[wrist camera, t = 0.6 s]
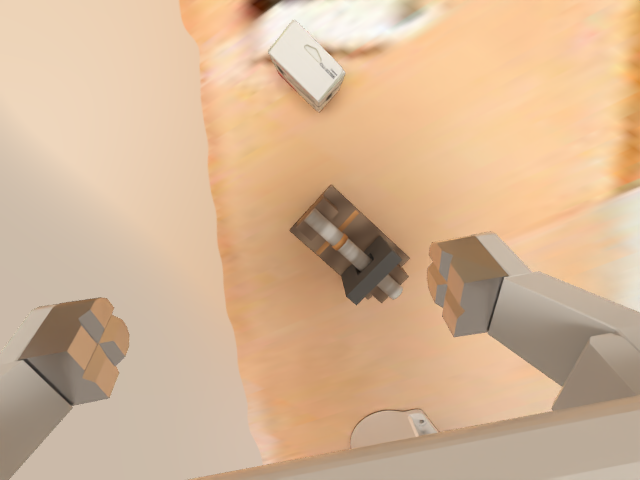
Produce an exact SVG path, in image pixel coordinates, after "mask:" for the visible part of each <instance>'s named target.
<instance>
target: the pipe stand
mask: <svg viewBox="0 0 640 480" xmlns="http://www.w3.org/2000/svg"><path fill="white" fill-rule="evenodd" d="M290 232H291V233H293V234H294V235H295V236H296V237H297V238H298V239H299V240H301V241H302V242H303V243H304V244H305V245H306V246H307V247H309V248H310V249H311V250H312V251H313V252H314V253H315V254H317V255H318V256H319V257H320V258H321V259H322V260H323V261H325V262H326V263H327V264H328V265H329V266H330V267H331V268H333V269H334V270H335V271H336V272H337V273H338V274H339V275H341V274H342V273H343V272H344V271H345V270H346V269H347V268H348V267H349V266H350V265H351V264H353V265H354V266H355V267H356V268H358V269H359V270H360V271H361V272H362V271H363V270H364V269H365V268H366V267H367V266H368V265H369V264H370V263H371V262H372V261H373V260H372V259H371V258H369V257H368V256H367V255H366V254H365V253H364V251H365V250H366V249H367V248H368V247H369V246H370V245H371V244H372V243H373V242H374V241H375V240H376V239H377V238H378V237H379V236H381V237H382V238H383V239H385V240H386V241H387V242H388V243H389V244H390V246H391V247H392V248H393V249H394V250H395V251H396V253H397V254H398V255H399V256H400V257H401V259H402V261H401V262H400V263H399V264H398V265H397V266H396V267H395V268H394V269H393V270H392V271H391V272H390V273H389V274H388V275H387V276H386V277H385V278H384V279H383V280H382V281H381V282H380V283H379V284H378V285H377V286H376V287H375V288H374V289H373V290H372V291H371V292H370V293H368V294H367V295H366V296H365V297H366V298H367V299H369V298H370V297H371V296H372V295H373V296H374V297H375V298H376V299H377V300H378V301H380V302H381V303H382V302H383V301H384V300H385V299H386V298H387V297H388V296H389V297H390V298H391V299H396V298H397V297H398V296H399V295H400V294H401V293H402V291H403V288H402V287H401V286H400V285H401V284H402V283H403V282H404V281H405V280H406V279H407V278H408V277H409V276H408V275H407V274H406V272H405V271H404V270H403V268H402V266H403V265H404V264H405V263H406V262H407V261H408V260H409V259H410V258H409V257H408V256H407V255H406V254H405V253H404V252H403V251H402V250H401V249H399V248H398V247H397V246H396V245H395V244H394V243H393V242H392V241H391V240H390V239H389V238H388V237H387V236H385V235H384V234H383V233H382V232H381V231H380V230H379V229H378V228H377V227H376V226H375V225H374V224H373V223H372V222H370V221H369V220H368V219H367V218H366V217H365V216H364V215H363V214H362V213H361V212H360V211H359V210H358V209H357V208H355V207H354V206H353V205H352V204H351V203H350V202H349V201H348V200H347V199H346V198H345V197H344V196H343V195H342V194H340V193H339V192H338V191H337V190H336V189H335V188H334V187H333V186H332V185H330V186H329V187H328V189H327V190H326V191H325V192H324V193H323V194H322V195H321V196H320V197H319V198H318V199H317V201H316V202H315V203H314V204H313V205H312V206H311V207H310V208H309V209H308V210H307V211H306V213H305V214H304V215H303V216H302V217H301V218H300V219H299V220H298V221H297V222H296V223H295V225H294V226H293V227H292V228H291V229H290Z"/></svg>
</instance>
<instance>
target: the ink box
mask: <svg viewBox="0 0 640 480" xmlns="http://www.w3.org/2000/svg"><path fill="white" fill-rule="evenodd" d="M268 54H269V55H270V58H271V60H272V61H273V63H274V65H275V67H276V69H277V71H278V74H279V75H280V76H281V77H282V78H284V79H285V81H287V82H288V83H289V84H290V85H291V86H292V87H293V88H294V89H295V90H296V91H297V92H298V93H299V94H300V95H301V96H302V97H303V98H304V99H305V100H306V101H307V102H308V103H309V104H310V105H311V106H312V107H313V108H314V109H315V110H316V111H317V112H320V111H321V110H322V109H323V107H324V106H325V105H326V104H327V103H328V102H329V101H330V100H331V98H332V97H333V96H334V95H335V94H336V93H337V92H338V91H339V89H340V86H341V84H342V81H343V78H344V76H345V71H344V70H343V69H342V67H341V66H340V65H339V64H338V63H337V62H336V61H335V60H334V58H333V57H332V56H331V55H330V54H329V53H327V52H326V51H325V50H324V49H323V47H322V46H321V45H320V44H319V43H318V42H317V41H316V40H315V39H314V38H313V37H312V36H311V35H310V34H309V33H308V32H307V31H306V30H305V29H304V28H303V27H302V26H301V25H300V24H299V23H298V22H297V21H296V20H292V21H291V23H290V24H289V25H288V27H287V28H286V29H285V30H284V31H283V33H282V34H281V35H280V37H279V38H278V39H277V40H276V42H275V43H274V44H273V45H272V46H271V48H270V49H269V50H268Z"/></svg>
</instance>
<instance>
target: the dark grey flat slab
mask: <svg viewBox="0 0 640 480" xmlns="http://www.w3.org/2000/svg"><path fill="white" fill-rule="evenodd" d="M364 253H365V254H366V255H367V256H368V257H369V258H371V259H372V260H373V261H372V262H371V263H370V264H369V265H368V266H367V267H366V268H365V269H364V270H363V271H362V272H361V271H360V270H359V269H358V268H356V267H355V266H354V265H353V264H351V265H350V266H349V267H348V268H347V269H346V270H345V271H344V272H343V273H342V274H341V276H342V280H343V285H344V289H345V293H346V297H347V298H349V299H350V300H351V301H352V302H353V303H354V304H356V305H357V304H358V303H359V302H360V301H361V300H362V299H363V298H364V297H365V296H366V295H367V294H368V293H370V292H371V291H372V290H373V289H374V288H375V287H376V286H377V285H378V284H379V283H380V282H381V281H382V280H383V279H384V278H385V277H386V276H387V275H388V274H389V273H390V272H391V271H392V270H393V269H394V268H395V267H396V266H397V265H398V264H399V263H400V262H401V261H402V259H401V257H400V256H399V255H398V254H397V253H396V251H395V250H394V249H393V248H392V247H391V246H390V244H389V243H388V242H387V241H386V240H385V239H383V238H382V237H381V236H379V237H378V238H377V239H376V240H375V241H374V242H373V243H372V244H371V245H370V246H369V247H368V248H367V249H366V250H365V251H364Z"/></svg>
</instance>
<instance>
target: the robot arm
mask: <svg viewBox="0 0 640 480" xmlns="http://www.w3.org/2000/svg"><path fill="white" fill-rule="evenodd" d="M429 256H430V258H431V259H432V261H433V262H432V264H431V265H430V266H429V267H428V269H427V281H428V288H429V291H430V294H431V296H432V298H433V300H434V302H435V303H436V304H438V305H439V306H441V307H443V314H442V317H443V319H444V320H445V322H446V324H447V326H448V328H449V330H450V331H451V333H452V335H453V337H458V336H465V335H472V334H478V333H485V332H488V334H489V335H490V336H492V337H493V338H494V339H496V340H497V341H499V342H500V343H501V344H503V345H504V346H506V347H507V348H508V349H510V350H511V351H513V352H514V353H516V354H517V355H518V356H520V357H521V358H523V359H524V360H525V361H527V362H528V363H530V364H531V365H532V366H534V367H535V368H537V369H538V370H539V371H541V372H542V373H544V374H545V375H546V376H548V377H549V378H551V379H552V380H553V381H555V382H556V383H558V384H559V385H560V386H562V388H561V390H560V392H559V394H558V395H557V397H556V399H555V401H554V403H553V406H552V408H551V409H552V410H553V411H551V412H545V413H540V414H535V415H529V416H524V417H519V418H513V419H508V420H503V421H497V422H492V423H487V424H481V425H476V426H471V427H465V428H460V429H455V430H449V431H444V432H439V431H438V430H437V429H436V428H435V426H434V425H433V424H432V422H431V421H430V420H429V419H428V417H427V416H426V415H425V414H424V412H423V411H422V410H420V409H414V410H409V411H405V412H401V411H381V412H377V413H374V414H371V415H369V416H368V417H366V418H364V419H363V420H362V421H361V422H360V423H359V424H358V425H357V426H356V428H355V429H354V431H353V433H352V436H351V442H350V445H351V449H348V450H342V451H337V452H332V453H326V454H321V455H316V456H310V457H305V458H300V459H294V460H289V461H284V462H278V463H273V464H268V465H262V466H257V467H252V468H246V469H241V470H236V471H231V472H225V473H220V474H215V475H209V476H204V477H199V478H194V479H188V480H640V312H637V311H635V310H632V309H630V308H627V307H625V306H622V305H620V304H617V303H615V302H613V301H610V300H608V299H605V298H603V297H600V296H598V295H595V294H593V293H591V292H588V291H586V290H583V289H581V288H578V287H576V286H573V285H571V284H569V283H566V282H564V281H561V280H559V279H556V278H554V277H551V276H549V275H547V274H544V273H542V272H532V271H531V270H530V269H529V268H528V267H527V266H526V265H525V264H524V263H523V262H522V261H521V260H520V259H519V257H518V256H517V255H516V254H515V253H514V252H513V251H512V250H511V249H510V248H509V247H508V246H507V245H506V244H505V243H504V242H503V241H502V240H501V239H500V238H499V237H498V235H497V234H495V233H493V232H491V231H490V232H485V233H479V234H474V235H471V236H465V237H460V238H454V239H448V240H442V241H436V242H432V243H431V246H430V250H429ZM113 310H114V307H113V306H112V304H111V303H110V302H109V300H108V299H107V298H101V297H100V298H93V299H86V300H79V301H72V302H66V303H60V304H53V305H47V306H40V307H37V308H36V309H34V310H32V311H31V312H30V313H29V314H28V316H27V317H26V319H25V320H24V321H23V323H22V324H21V325H20V327H19V328H18V329H17V331H16V332H15V333H14V335H13V336H12V337H11V339H10V340H9V342H8V343H7V345H6V346H5V347H4V348H3V350H2V351H1V352H0V480H9V479H10V478H11V477H12V476H13V475H14V473H15V472H16V471H17V470H18V469H19V468H20V467H21V466H22V464H23V463H24V462H25V461H26V460H27V459H28V458H29V456H30V455H31V454H32V453H33V452H34V451H35V450H36V449H37V448H38V446H39V445H40V444H41V443H42V442H43V441H44V439H45V438H46V437H47V436H48V435H49V434H50V433H51V432H52V431H53V429H54V428H55V427H56V426H57V425H58V424H59V423H60V422H61V420H62V419H63V418H64V417H65V416H66V415H67V414H68V413H69V411H70V410H71V409H72V406H74V405H79V404H84V403H88V402H93V401H98V400H103V399H108V398H110V395H111V392H112V390H113V387H114V385H115V382H116V380H117V377H118V375H119V371H118V369H117V367H116V365H117V364H118V363H119V362H120V361H121V360H122V359H123V358H124V357H125V356H126V353H127V351H128V348H129V332H128V329H127V326H126V325H125V323H124V322H123V320H122V319H120V318H118V317H116V316H114V315H112V313H113ZM420 420H421V421H420Z"/></svg>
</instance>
